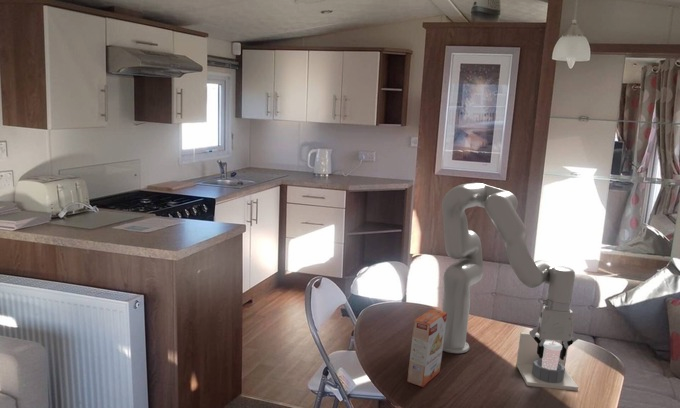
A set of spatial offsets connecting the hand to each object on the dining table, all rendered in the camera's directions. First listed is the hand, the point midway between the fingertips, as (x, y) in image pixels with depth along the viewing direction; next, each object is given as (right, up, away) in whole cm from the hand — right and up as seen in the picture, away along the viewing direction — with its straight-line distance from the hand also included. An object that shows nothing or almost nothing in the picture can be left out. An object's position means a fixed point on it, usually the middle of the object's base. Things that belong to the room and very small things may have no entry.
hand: (550, 356), depth 190 cm
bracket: (-1, -8, +3) cm, 8 cm away
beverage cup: (0, -5, +1) cm, 5 cm away
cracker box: (-42, -6, -4) cm, 43 cm away
